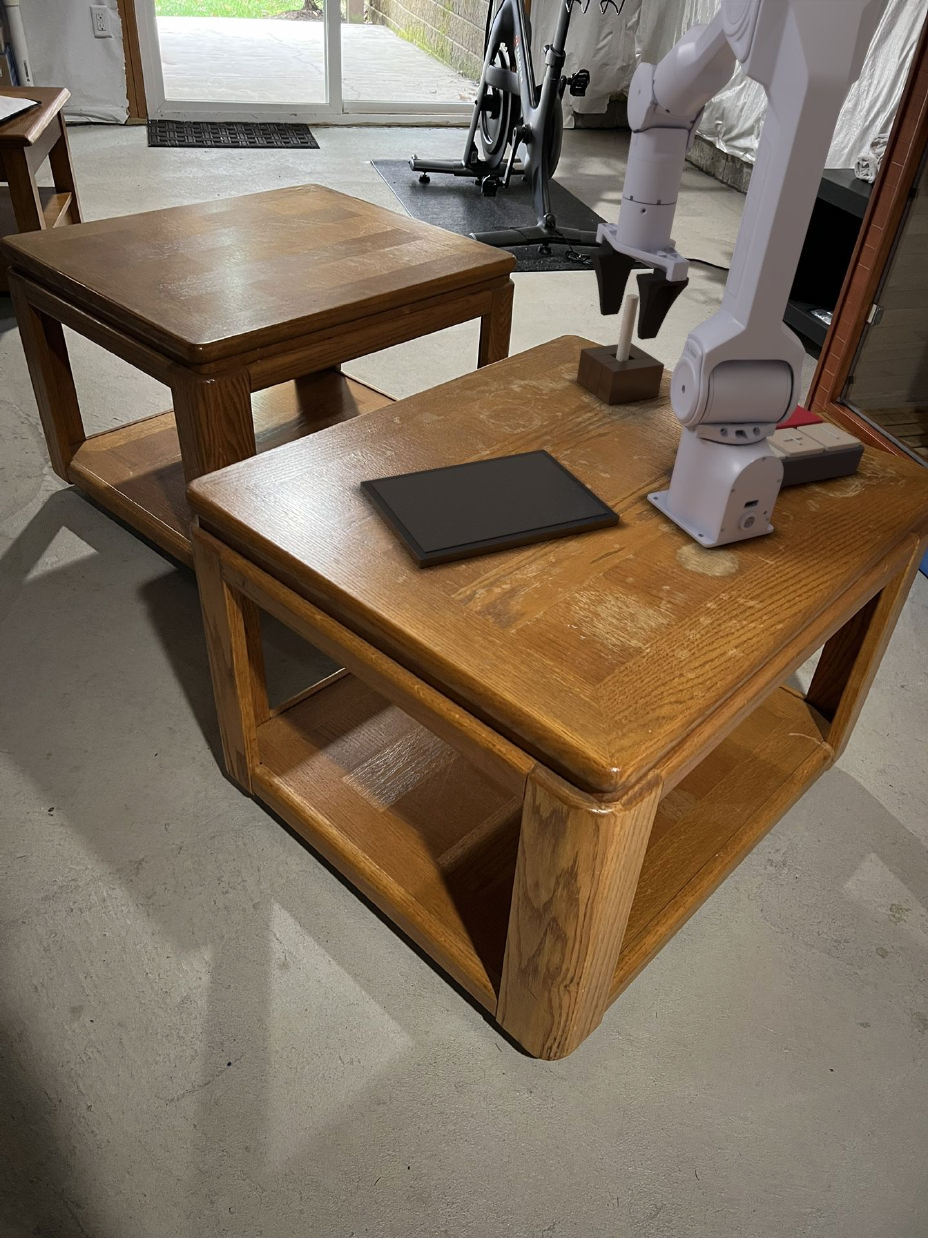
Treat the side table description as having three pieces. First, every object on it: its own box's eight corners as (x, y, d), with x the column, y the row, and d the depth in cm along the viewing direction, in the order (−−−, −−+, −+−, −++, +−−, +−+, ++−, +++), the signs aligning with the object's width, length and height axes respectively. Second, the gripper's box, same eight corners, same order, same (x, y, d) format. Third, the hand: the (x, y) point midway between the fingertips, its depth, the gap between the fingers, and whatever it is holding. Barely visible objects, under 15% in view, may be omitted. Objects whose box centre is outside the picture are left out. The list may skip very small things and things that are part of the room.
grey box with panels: (870, 440, 95) (760, 458, 88) (855, 478, 97) (747, 498, 91) (794, 397, 102) (687, 411, 96) (782, 433, 105) (677, 449, 98)
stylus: (625, 390, 110) (641, 297, 104) (615, 392, 110) (631, 298, 103) (618, 385, 111) (634, 293, 105) (608, 387, 111) (624, 294, 104)
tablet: (618, 524, 86) (620, 515, 85) (419, 568, 78) (420, 558, 78) (543, 456, 96) (544, 447, 95) (359, 489, 88) (359, 480, 87)
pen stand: (658, 396, 109) (664, 364, 107) (608, 405, 107) (613, 371, 104) (624, 373, 114) (630, 342, 112) (576, 381, 112) (580, 348, 109)
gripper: (723, 214, 94) (694, 344, 102) (641, 179, 104) (621, 300, 112) (666, 218, 91) (641, 352, 100) (588, 182, 102) (571, 306, 110)
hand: (627, 325), depth 106 cm, fingers open, 7 cm apart
